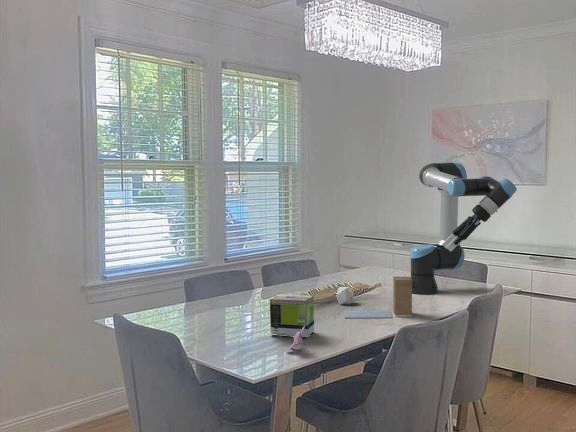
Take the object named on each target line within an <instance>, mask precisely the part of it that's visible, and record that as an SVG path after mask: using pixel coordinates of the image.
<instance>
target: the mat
mask: <svg viewBox="0 0 576 432" xmlns="http://www.w3.org/2000/svg"><path fill="white" fill-rule="evenodd" d="M391 313H392V312H391V311H390V310H389V309H386V310H385V309H383V310H382V309H380V310H377V309H376V310H374V309H373V310H367V309H366V310H365V309H364V310H363V309H362V310H343V314H344V319H393V315H392V314H391Z"/></svg>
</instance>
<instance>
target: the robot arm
mask: <svg viewBox="0 0 576 432" xmlns="http://www.w3.org/2000/svg"><path fill="white" fill-rule="evenodd" d="M418 178H419V181H420V183H421V184H422V185H424V186H426V187H429V188H434V187H435V188H437V191H439V193H440V207H439V208H440V211H439V214H440V215H439V240H438V241H437V242H436V245H434V244H430V243H429V244H418V245H414V246H413V247H411V250H410V255H409V257H410V276H409V277H410V278H411V279H412V294H414V295H433V294H437V293H438V292H439V287H438V285H437V284H438V283H437V281H436V280H437V279H436V278H435V271H441V270H442V271H444V270H445V271H446V270H450V271H451V270H455V269H456V270H457V269H460V268H461V267H462V266H463V265H464V262H465V256H466V255H465V254H466V253H465V250H464V248H463V246H461V242H463V241H466V240H467V239H468V238H469V236H470V235H472V233H474V231H475V230H476V229H477V228H478V227H479V226H480V225H481V224H482V222H484V223H486V222H488V220H490V218H491V217H492V215H494V214H495V213H498V210H499V209H500V208H502V206H503V205H505V203H506V202H507V201H509V200H510V199H511V198H512V197H513V196H514V194H515V193H516V192H517V189H518V188H517V187H516V185H515V184H514V182H512V181H511V180H510V179H508V178H502V179H501V180H499V181H498V180H497V179H495V178H493V177H491V176H488V175H482V176H481V177H479V178H468V173H467V171H466V168H465V166H464V165H463V164H462V163H459V162H431V163H427V164H426V165H424V166H423V167H421V169H420V171H419V174H418ZM477 196H478V197H479V196H480V197H481V196H482V197H483V196H484V197H483V198H482V199H481V200H480V201H479V203H478V204H476V205H475V206H474V207H473V208H472V209H471V212H472V216H470V215H469V216H467V218H466V219H465V220H464V221H462V222H461V223H460V224H459V225H458V221H459V220H458V219H459V217H458V216H459V214H458V213H459V198H461V197H477ZM481 221H482V222H481Z"/></svg>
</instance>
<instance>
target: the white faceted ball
mask: <svg viewBox="0 0 576 432" xmlns="http://www.w3.org/2000/svg"><path fill="white" fill-rule="evenodd" d="M336 294H337V295H335V298H336V297H337V298H336V300H337V301H338V304H339V305H351V304H352V302H353V300H354V296H355V294H354V292H353V290H352V288H351V286H339V287H338V290H337V292H336Z"/></svg>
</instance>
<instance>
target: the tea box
mask: <svg viewBox="0 0 576 432" xmlns="http://www.w3.org/2000/svg"><path fill="white" fill-rule="evenodd" d="M314 304H315V303H314V295H307V294H305V295H304V294H283V293H282V294H280V293H279V294H276V295H275V296H273V297H271V298H269V315H270V317H269V319H270V320H269V321H270V323H269V324H270V335H271V334H277V335H287V336H295V335H296V333H297V332H298V331H299V332H301V330H302V328H303V327H304V326H305V327H304V329H303V331H302V337H308V336H309V335H310V334H311V333H312V332H313V331H314V332H315V308H314V306H315V305H314ZM310 336H311V335H310ZM310 336H309V337H310ZM309 337H308V338H309Z"/></svg>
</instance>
